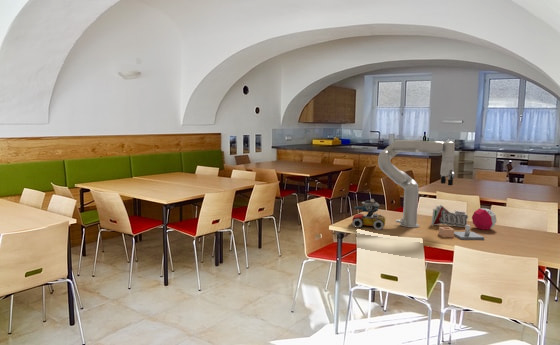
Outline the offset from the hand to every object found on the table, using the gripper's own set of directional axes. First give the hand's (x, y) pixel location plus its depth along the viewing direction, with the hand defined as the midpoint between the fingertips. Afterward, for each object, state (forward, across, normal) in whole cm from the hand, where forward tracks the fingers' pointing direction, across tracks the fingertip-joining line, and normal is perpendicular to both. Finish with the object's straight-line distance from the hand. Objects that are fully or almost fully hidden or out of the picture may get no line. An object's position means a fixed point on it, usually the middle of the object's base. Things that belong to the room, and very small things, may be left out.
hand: (446, 184), depth 295 cm
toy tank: (+31, -9, -52) cm, 61 cm away
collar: (+31, +20, -9) cm, 38 cm away
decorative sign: (+31, -8, +8) cm, 33 cm away
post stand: (+31, +22, +4) cm, 39 cm away
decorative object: (+32, +2, +28) cm, 42 cm away
